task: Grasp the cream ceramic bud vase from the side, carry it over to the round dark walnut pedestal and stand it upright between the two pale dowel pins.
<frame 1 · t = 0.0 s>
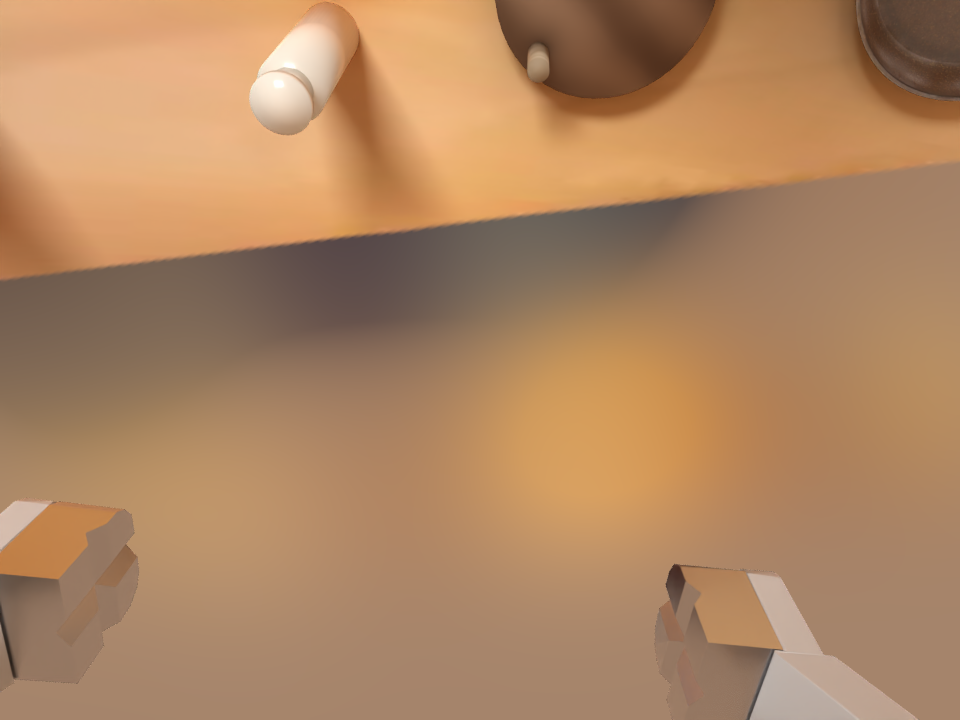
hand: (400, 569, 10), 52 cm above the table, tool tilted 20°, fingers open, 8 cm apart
bud vase: (330, 33, 55), on the table
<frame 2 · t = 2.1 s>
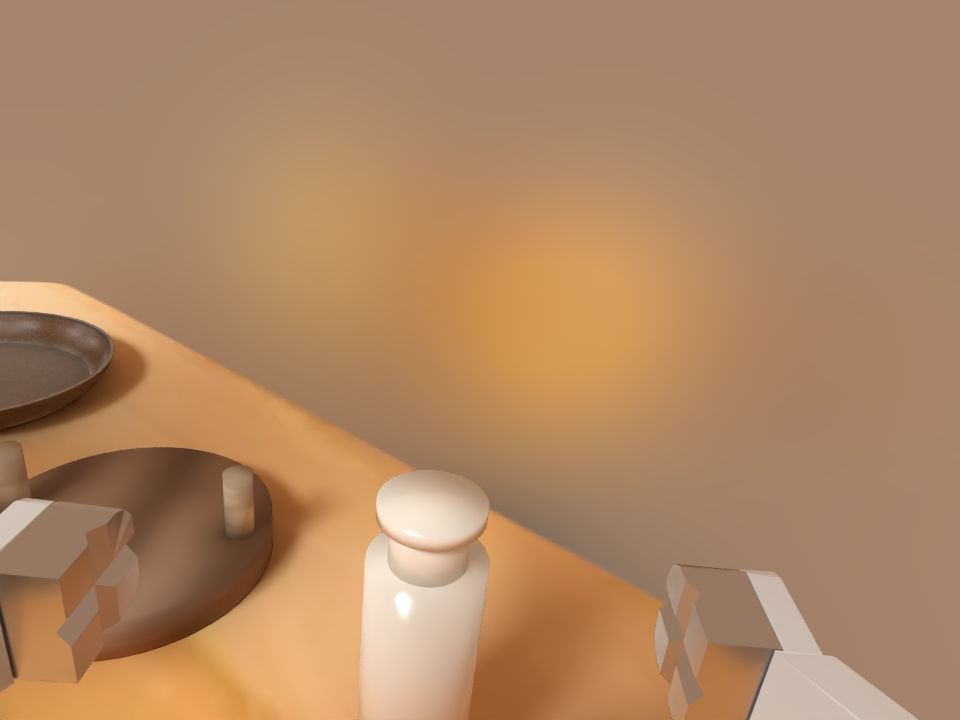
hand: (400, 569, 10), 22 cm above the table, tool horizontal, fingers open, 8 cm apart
pedestal: (132, 553, 41), on the table
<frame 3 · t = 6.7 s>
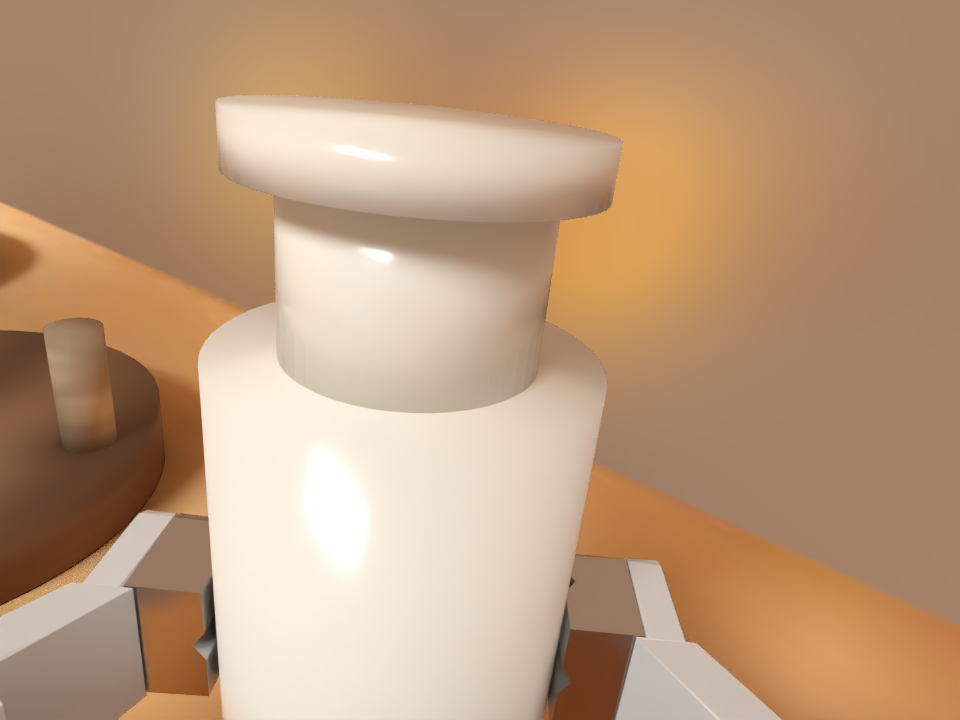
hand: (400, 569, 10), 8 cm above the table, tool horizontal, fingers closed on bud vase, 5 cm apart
when the fingers open (11 cm above the table, at t = 11.3 s): bud vase stays where it is, resting on pedestal.
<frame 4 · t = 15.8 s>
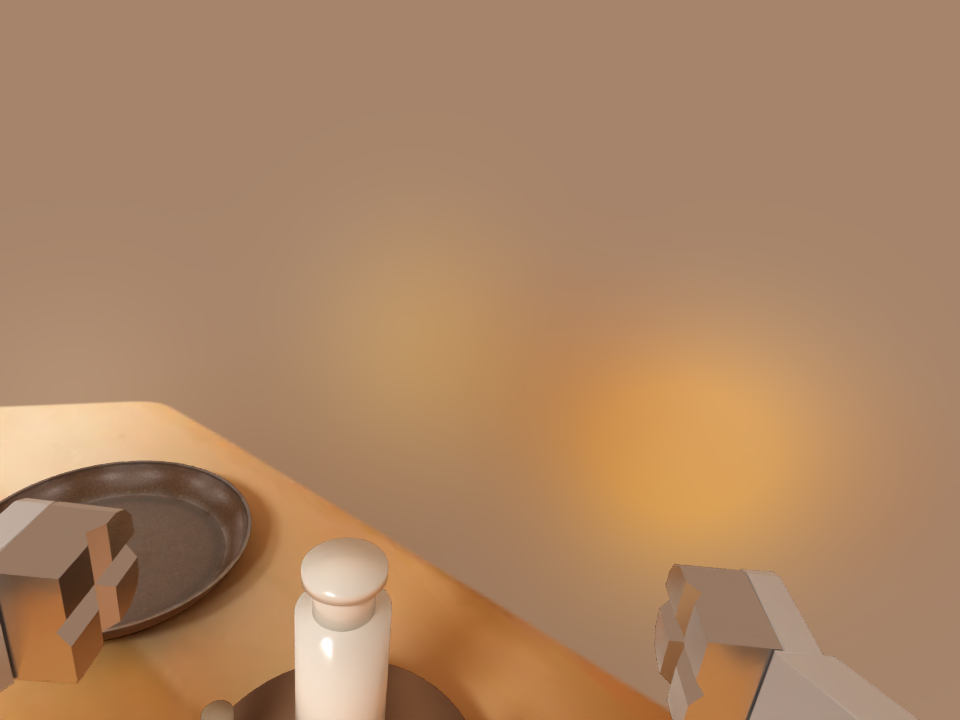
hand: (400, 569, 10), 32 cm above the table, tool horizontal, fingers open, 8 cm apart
plant saucer: (116, 566, 55), on the table
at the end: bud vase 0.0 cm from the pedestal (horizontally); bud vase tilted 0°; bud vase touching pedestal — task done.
